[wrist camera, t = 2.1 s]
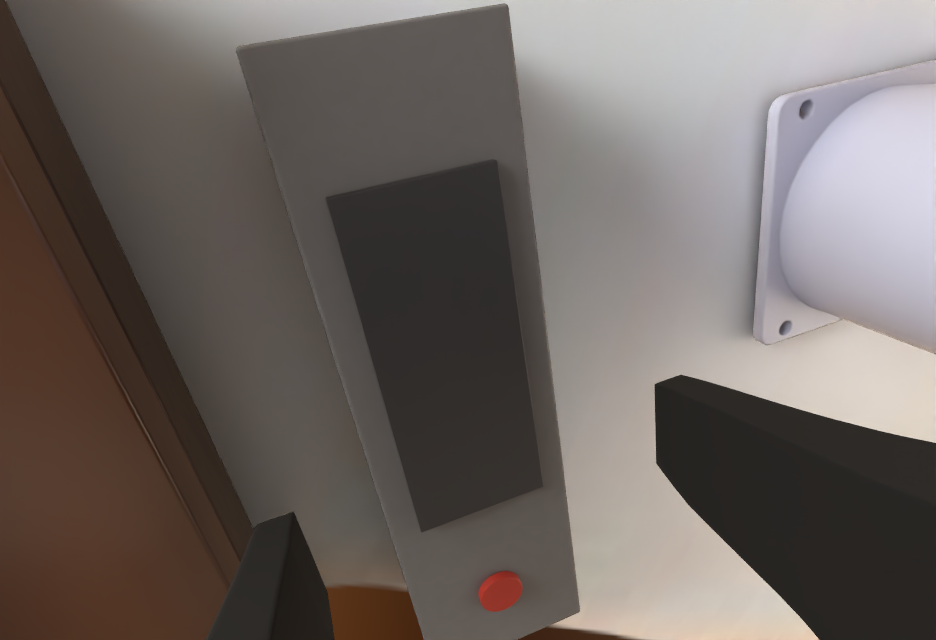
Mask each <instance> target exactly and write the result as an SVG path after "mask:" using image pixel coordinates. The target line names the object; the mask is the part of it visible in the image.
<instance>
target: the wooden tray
mask: <svg viewBox="0 0 936 640" xmlns="http://www.w3.org/2000/svg"><path fill="white" fill-rule="evenodd" d="M253 531H254V530H253V528H252V525H251V523H250V521H249V519H248V517H247V515H246V513H245V510H244V508H243V506H242V504H241V502H240V500H239V498H238V496H237V493H236V491H235V489H234V487H233V485H232V483H231V481H230V479H229V476H228V474H227V472H226V470H225V468H224V466H223V464H222V462H221V459H220V457H219V455H218V453H217V451H216V449H215V447H214V445H213V442H212V440H211V438H210V436H209V434H208V432H207V430H206V427H205V425H204V423H203V421H202V419H201V417H200V415H199V413H198V410H197V408H196V406H195V404H194V402H193V400H192V398H191V396H190V393H189V391H188V389H187V387H186V385H185V383H184V381H183V379H182V376H181V374H180V372H179V370H178V368H177V366H176V364H175V361H174V359H173V357H172V355H171V353H170V351H169V349H168V347H167V344H166V342H165V340H164V338H163V336H162V334H161V332H160V330H159V327H158V325H157V323H156V321H155V319H154V317H153V315H152V313H151V310H150V308H149V306H148V304H147V302H146V300H145V298H144V296H143V293H142V291H141V289H140V287H139V285H138V283H137V281H136V278H135V276H134V274H133V272H132V270H131V268H130V266H129V264H128V261H127V259H126V257H125V255H124V253H123V251H122V249H121V247H120V244H119V242H118V240H117V238H116V236H115V234H114V232H113V230H112V227H111V225H110V223H109V221H108V219H107V217H106V215H105V212H104V210H103V208H102V206H101V204H100V202H99V200H98V198H97V195H96V193H95V191H94V189H93V187H92V185H91V183H90V181H89V178H88V176H87V174H86V172H85V170H84V168H83V166H82V164H81V161H80V159H79V157H78V155H77V153H76V151H75V149H74V147H73V144H72V142H71V140H70V138H69V136H68V134H67V132H66V129H65V127H64V125H63V123H62V121H61V119H60V117H59V115H58V112H57V110H56V108H55V106H54V104H53V102H52V100H51V98H50V95H49V93H48V91H47V89H46V87H45V85H44V83H43V81H42V78H41V76H40V74H39V72H38V70H37V68H36V66H35V63H34V61H33V59H32V57H31V55H30V53H29V51H28V49H27V46H26V44H25V42H24V40H23V38H22V36H21V34H20V32H19V29H18V27H17V25H16V23H15V21H14V19H13V17H12V15H11V12H10V10H9V8H8V6H7V4H6V2H5V0H0V640H205V639H206V637H207V635H208V633H209V631H210V629H211V627H212V625H213V622H214V620H215V618H216V616H217V614H218V612H219V610H220V608H221V605H222V603H223V601H224V599H225V597H226V594H227V592H228V590H229V587H230V585H231V583H232V581H233V578H234V576H235V574H236V571H237V569H238V567H239V564H240V562H241V560H242V557H243V555H244V552H245V550H246V548H247V545H248V543H249V540H250V538H251V535H252V533H253Z"/></svg>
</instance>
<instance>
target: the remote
mask: <svg viewBox="0 0 936 640" xmlns="http://www.w3.org/2000/svg"><path fill="white" fill-rule="evenodd" d="M236 53H237V56H238V59H239V63H240V66H241V69H242V72H243V75H244V78H245V81H246V84H247V88H248V91H249V94H250V97H251V100H252V103H253V106H254V109H255V113H256V116H257V119H258V122H259V125H260V128H261V131H262V135H263V138H264V141H265V144H266V147H267V150H268V153H269V156H270V160H271V163H272V166H273V169H274V172H275V175H276V178H277V181H278V185H279V188H280V191H281V194H282V197H283V200H284V203H285V206H286V210H287V213H288V216H289V219H290V222H291V225H292V228H293V231H294V235H295V238H296V241H297V244H298V247H299V250H300V253H301V256H302V260H303V263H304V266H305V269H306V272H307V275H308V278H309V281H310V285H311V288H312V291H313V294H314V297H315V300H316V303H317V306H318V310H319V313H320V316H321V319H322V322H323V325H324V328H325V332H326V335H327V338H328V341H329V344H330V347H331V350H332V353H333V357H334V360H335V363H336V366H337V369H338V372H339V375H340V378H341V382H342V385H343V388H344V391H345V394H346V397H347V400H348V403H349V407H350V410H351V413H352V416H353V419H354V422H355V425H356V428H357V432H358V435H359V438H360V441H361V444H362V447H363V450H364V453H365V457H366V460H367V463H368V466H369V469H370V472H371V475H372V478H373V482H374V485H375V488H376V491H377V494H378V497H379V500H380V503H381V507H382V510H383V513H384V516H385V519H386V522H387V525H388V529H389V532H390V535H391V538H392V541H393V544H394V547H395V550H396V554H397V557H398V560H399V563H400V566H401V569H402V572H403V575H404V579H405V582H406V585H407V588H408V591H409V594H410V597H411V600H412V603H413V607H414V610H415V613H416V616H417V619H418V622H419V625H420V628H421V631H422V635H423V638H424V640H517V639H520V638H522V637H524V636H526V635H529V634H531V633H533V632H535V631H538V630H540V629H542V628H544V627H547V626H549V625H551V624H553V623H556V622H558V621H560V620H563V619H565V618H567V617H569V616H572V615H574V614H576V613H578V612H580V606H579V598H578V589H577V581H576V572H575V564H574V556H573V547H572V539H571V530H570V522H569V513H568V505H567V497H566V488H565V480H564V471H563V463H562V454H561V446H560V438H559V429H558V421H557V412H556V404H555V395H554V387H553V379H552V370H551V362H550V353H549V345H548V336H547V328H546V320H545V311H544V303H543V294H542V286H541V278H540V269H539V261H538V252H537V244H536V235H535V227H534V219H533V210H532V202H531V193H530V185H529V176H528V168H527V160H526V151H525V143H524V134H523V126H522V117H521V109H520V101H519V92H518V84H517V75H516V67H515V58H514V50H513V42H512V33H511V25H510V16H509V8H508V5H507V4H498V5H492V6H485V7H479V8H473V9H467V10H461V11H454V12H448V13H442V14H436V15H429V16H423V17H417V18H411V19H404V20H398V21H392V22H386V23H380V24H373V25H367V26H361V27H355V28H348V29H342V30H336V31H330V32H323V33H317V34H311V35H305V36H299V37H292V38H286V39H280V40H274V41H267V42H261V43H255V44H249V45H242V46H239V47H237V48H236Z"/></svg>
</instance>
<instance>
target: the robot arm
mask: <svg viewBox="0 0 936 640" xmlns="http://www.w3.org/2000/svg"><path fill="white" fill-rule="evenodd" d="M801 105H802V110H801V113H800V115H799V110H800V106H801ZM843 319H844V320H847V321H850V322H852V323H855V324H857V325H860V326H863V327H865V328H868V329H871V330H873V331H876V332H878V333H881V334H884V335H886V336H889V337H892V338H894V339H897V340H900V341H902V342H905V343H907V344H910V345H913V346H915V347H918V348H921V349H923V350H926V351H928V352H931V353H934V354H936V60H931V61H927V62H923V63H918V64H914V65H909V66H905V67H901V68H896V69H892V70H888V71H883V72H879V73H874V74H870V75H866V76H861V77H857V78H852V79H848V80H844V81H839V82H835V83H831V84H826V85H822V86H817V87H813V88H809V89H804V90H800V91H796V92H791V93H787V94H783V95H781V96H779V97H777V99H776V100H775V101H774V102H773V103H772V105H771V107H770V109H769V113H768V123H767V137H766V152H765V166H764V181H763V195H762V210H761V224H760V239H759V253H758V268H757V283H756V297H755V312H754V326H753V336H754V338H755V340H756V341H758V342H760V343H762V344H765V345H772V344H774V343H777V342H780V341H783V340H786V339H789V338H791V337H794V336H797V335H800V334H803V333H806V332H809V331H811V330H814V329H817V328H820V327H823V326H826V325H828V324H831V323H834V322H837V321H840V320H843ZM655 422H656V464H657V465H658V466H659V468H660V469H661V470H662V472H663V473H664V474H665V476H666V477H667V478H668V480H669V481H670V482H671V483H672V485H673V486H674V487H675V489H676V490H677V491H678V492H679V494H680V495H681V496H682V497H683V498H684V500H685V501H686V502H687V503H688V505H689V506H690V507H691V508H692V509H693V510H694V511H695V512H696V513H697V514H698V515H699V516H700V517H701V518H702V519H703V520H704V521H705V522H706V523H707V524H708V525H709V526H710V527H711V528H712V529H713V530H714V531H715V532H716V533H717V534H718V535H719V536H720V537H721V538H722V539H723V540H724V541H725V542H726V543H727V544H728V545H729V546H730V547H731V548H732V549H733V550H734V551H735V552H736V553H737V554H738V555H739V556H740V557H741V558H742V559H743V560H744V561H745V562H746V563H747V564H748V565H749V566H750V567H751V568H752V569H753V570H754V571H755V572H756V573H757V574H758V575H759V576H760V577H761V578H763V579H764V580H765V581H766V582H767V583H768V584H769V585H770V586H771V587H772V588H773V589H774V590H775V591H776V592H777V593H778V594H779V595H780V596H781V597H782V598H783V599H784V600H785V602H786V603H787V604H788V605H789V606H790V607H791V608H792V609H793V610H794V611H795V612H796V613H797V614H798V615H799V616H800V617H801V618H802V620H803V621H804V622H805V623H806V624H807V625H808V627H809V628H810V629H811V630H812V631H813V632H814V634H815V635H816V636H817V637H818V638H819V640H936V443H933V442H928V441H923V440H918V439H913V438H908V437H903V436H899V435H894V434H890V433H886V432H881V431H877V430H873V429H869V428H865V427H862V426H858V425H854V424H850V423H846V422H842V421H838V420H834V419H831V418H827V417H824V416H820V415H816V414H813V413H809V412H806V411H802V410H799V409H796V408H792V407H789V406H786V405H782V404H779V403H776V402H772V401H769V400H766V399H762V398H759V397H756V396H753V395H749V394H746V393H743V392H740V391H737V390H733V389H730V388H727V387H723V386H720V385H717V384H713V383H710V382H706V381H703V380H699V379H696V378H692V377H688V376H683V375H679V376H676V377H673V378H670V379H667V380H665V381H662V382H659V383H656V384H655ZM205 640H334V633H333V625H332V619H331V612H330V606H329V600H328V593H327V590H326V588H325V585H324V583H323V581H322V578H321V576H320V573H319V571H318V569H317V566H316V564H315V561H314V559H313V557H312V554H311V552H310V549H309V547H308V545H307V542H306V540H305V537H304V535H303V533H302V530H301V528H300V525H299V523H298V521H297V518H296V516H295V513H294V512H291V513H288V514H285V515H283V516H280V517H277V518H274V519H271V520H269V521H266V522H263V523H260V524H258V525H257V526H256V528H255V529H254V531H253V533H252V535H251V538H250V540H249V543H248V545H247V548H246V550H245V552H244V555H243V557H242V560H241V562H240V564H239V567H238V569H237V571H236V574H235V576H234V578H233V581H232V583H231V585H230V587H229V590H228V592H227V594H226V597H225V599H224V601H223V603H222V605H221V608H220V610H219V612H218V614H217V616H216V618H215V620H214V622H213V625H212V627H211V629H210V631H209V633H208V635H207V637H206V639H205Z"/></svg>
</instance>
